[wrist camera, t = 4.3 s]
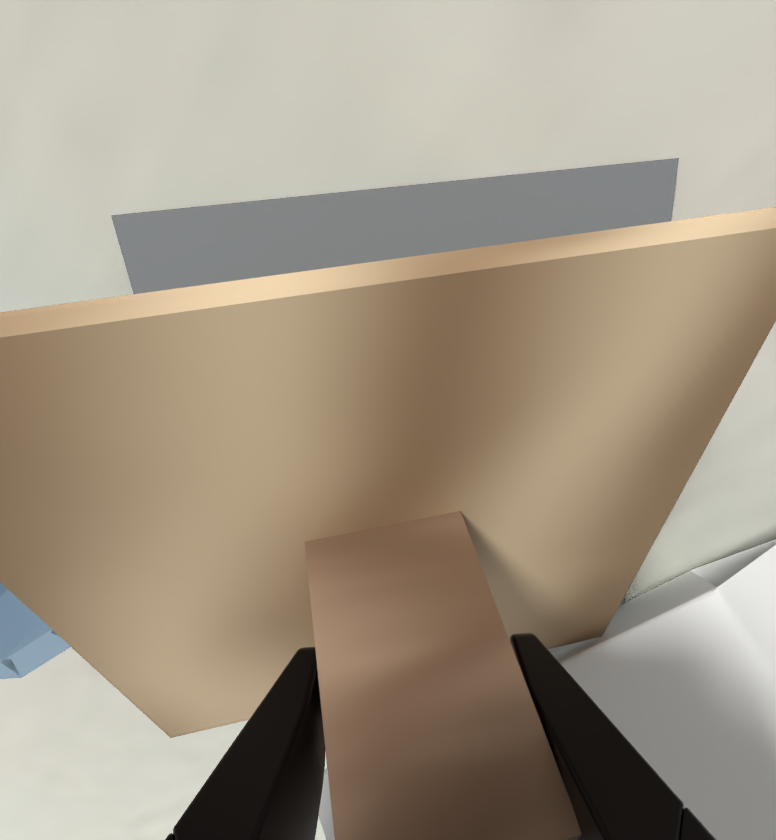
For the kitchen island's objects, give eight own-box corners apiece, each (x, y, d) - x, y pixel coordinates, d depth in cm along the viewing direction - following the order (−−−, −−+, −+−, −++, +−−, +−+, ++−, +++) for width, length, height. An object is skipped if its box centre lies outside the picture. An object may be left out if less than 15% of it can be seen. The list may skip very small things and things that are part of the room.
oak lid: (797, 204, 7) (1438, 507, 3) (592, 618, 16) (706, 837, 12) (-199, 339, 6) (-1107, 1160, 2) (172, 714, 15) (146, 1000, 11)
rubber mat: (669, 159, 15) (678, 158, 14) (619, 595, 21) (623, 604, 21) (119, 214, 15) (111, 215, 15) (234, 620, 22) (230, 630, 21)
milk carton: (387, 718, 24) (791, 520, 19) (460, 894, 22) (950, 715, 17) (302, 784, 18) (869, 515, 13) (391, 1045, 15) (1146, 827, 10)
